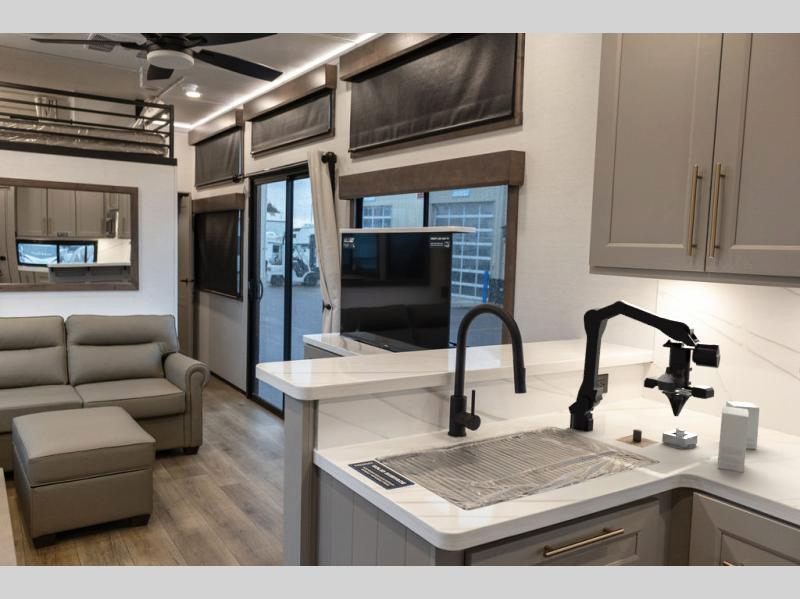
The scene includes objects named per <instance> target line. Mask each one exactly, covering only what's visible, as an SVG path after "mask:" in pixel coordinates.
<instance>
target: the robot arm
mask: <svg viewBox="0 0 800 599" xmlns="http://www.w3.org/2000/svg"><path fill="white" fill-rule="evenodd" d="M620 315H623V316H624V317H628V318H629V319H632V320H635V321H638V322H640V323H641V324H645V325H647V326H650V327H653V328H655V329H657V330H658V331H660V332H661V333H662V334H664V335H665V336H667V337H668V338H669V339H667V341H666V342H665V343H663V344H662V347H663V348H669V357H668V358H669V359H668V366H666V367H665V372H664V373H663V374H661V375H660V376H656V375H655V376H649V377H646V378H645V379H644V381H643V387H644V388H647V389H655V388H656V387H657V389H658V391H661V393H662V394H664V395H665V396H666V397H667V399H668V402H669V405H670V407H671V410H672V413H673V416H674V417H679V416H680V413H681V412H682V410H683V408H684V406H685V404H686V403H687V402H688V400H689V398H691V397H693V398H697V399H701V400H708V399H711V398H714V397H715V390H714V387H713V386H708V385H704V384H698V385H694V386H692V380H690V377H691V376H690V373H691V372H692V371H693V367H691V361H692V362H693V363H694V364H695V366H697V367H705V368H712V369H713V368H714V369H719V366H720V362H721V353H720V352H721V350H720V344H719V343H706V342H701V340H700V339H699V337H698V336H697V335H696V333H695V329H694V328H695V327H694V326H693V324H692V322H690V321H689V320H685V319H679V318H675V317H667V316H664V315H661V314H658V313H655V312H653V311H651V310H647V309H645V308H642V307H640V306H637V305H635V304H632V303H629V302H628V301H626V300H621V299H620V300H617V301H615V302H614V303H612V304H609V305H606V306H604V307H601V308H600V307H597V308H596V307H595V308H592V309H588V310H587V311H585V313H584V315H583V326H584V332H585V335H586V342H585V354H584V365H583V375H582V382H581V384H580V386H579V389H578V391H577V394H576V400H575V401H574V402H573V403H572V404H570V405H569V406H568V412H569V414H570V418H569V427H567V428H566V430H569V429H573V430H575V431H580V432H588V433H590V432H593V431H594V420H595V419H594V418H593V415H594V413H592V412H593V411H594V409H595V408H596V407H597V406H599V405H600V404H601V401H602V400H604V398H603V392H604V387H603V386H599V381H598V378H599V369H600V358H601V348H602V347H601V345H602V337H603V336H604V333H605V330H606V328H607V326H608V325H607V324H608V322H609V320H610V319H613V318H615V317H617V316H620Z"/></svg>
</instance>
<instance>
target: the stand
mask: <svg viewBox="0 0 800 599" xmlns="http://www.w3.org/2000/svg"><path fill="white" fill-rule="evenodd" d="M632 432H633V434H630V435H627V436H623V437H620V438H616V439H615V441H617V442H620V443H621V442H622V443H625V444H629V445H631V446H632V445H633V446H636V447H639V448H646V447H648V446H653V445H655V444H659V443H660V442H659V441H656V440H652V439H648V438H645V437H642V434H643V433H642V432H643V431H642V429H633V430H632Z"/></svg>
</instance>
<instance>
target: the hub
mask: <svg viewBox="0 0 800 599" xmlns="http://www.w3.org/2000/svg"><path fill="white" fill-rule="evenodd" d="M675 430H676V435H678V436H682V437H683V436H684V435H685V432H686V430H685V429H684V428H681V427H678V428H675ZM662 443H663V444H664V445H665V446H668V447H670V448H673V449H674V448H675V449H679V450H680V449H681V450H694V449H696V448H697V444H694V445H691V446H688V447H685V448H684V447H680V446H677V445H673V444H669V443H666V442H662Z"/></svg>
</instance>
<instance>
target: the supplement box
mask: <svg viewBox="0 0 800 599" xmlns="http://www.w3.org/2000/svg"><path fill="white" fill-rule="evenodd" d="M725 403H726V405H725V406H726V407H733V408H742V409H748V412H749V424H748V435H747V446H746V449H749V450H751V449H752V450H756V449H758V448H757V447H758V436H759V435H758V434H759V421H760V420H759V419H760V417H759V416H760V407H759V406H757V405H755V404H754V403H752V402H749V401H729V400H727V401H726V402H725Z"/></svg>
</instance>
